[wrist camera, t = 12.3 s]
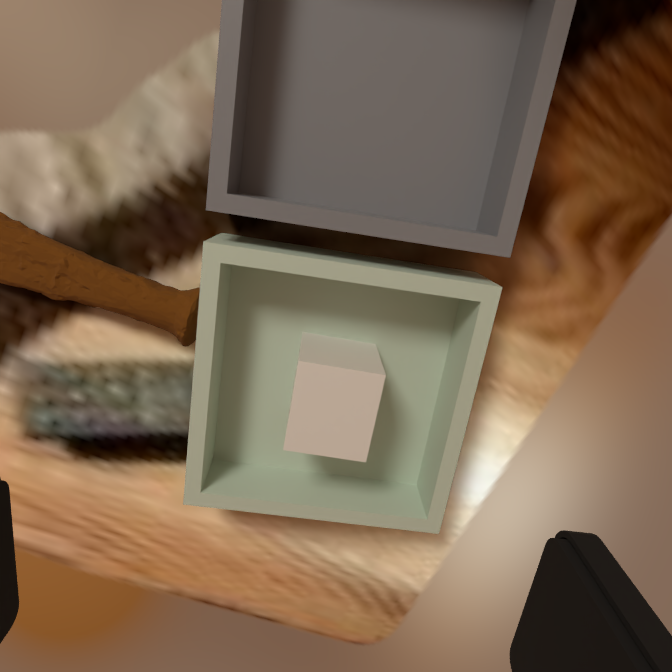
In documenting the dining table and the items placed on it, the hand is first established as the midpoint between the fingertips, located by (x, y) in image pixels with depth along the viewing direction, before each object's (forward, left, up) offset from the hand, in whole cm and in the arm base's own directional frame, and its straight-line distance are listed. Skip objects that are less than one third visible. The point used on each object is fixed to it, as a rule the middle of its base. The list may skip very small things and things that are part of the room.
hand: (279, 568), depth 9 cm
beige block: (+4, +2, -21) cm, 21 cm away
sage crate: (+5, +2, -22) cm, 22 cm away
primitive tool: (+1, -16, -22) cm, 27 cm away
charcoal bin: (-12, +2, -22) cm, 25 cm away
